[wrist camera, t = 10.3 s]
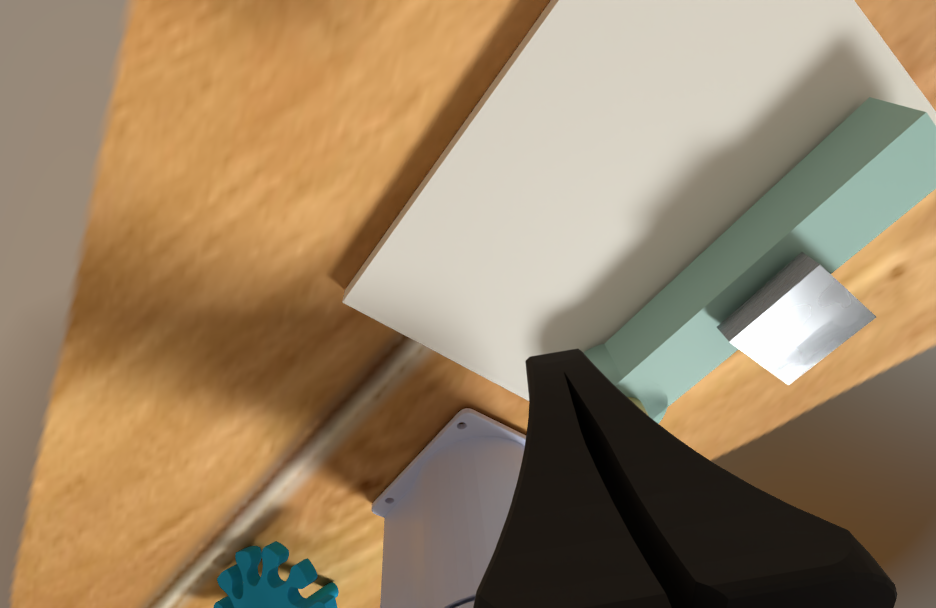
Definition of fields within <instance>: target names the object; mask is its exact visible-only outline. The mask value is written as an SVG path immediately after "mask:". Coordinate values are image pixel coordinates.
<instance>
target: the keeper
mask: <svg viewBox="0 0 936 608" xmlns="http://www.w3.org/2000/svg"><path fill="white" fill-rule="evenodd" d="M875 318H876V316H875V315H874V314H873V313H872V312H870V311H869V310H868V309H867V308H866V307H865V306H864V305H863V304H862V303H861V302H860V301H859V300H858V299H856V298H855V297H854V296H853V295H852V294H851V293H850V292H849V291H848V290H847V289H846V288H845V287H844V286H843V285H841V284H840V283H839V282H838V281H837V280H836V279H835V278H834V277H833V276H832V275H831V274H830V273H829V272H828V271H826V270H825V269H824V268H823V267H822V266H821V265H820V264H819V263H817V262H816V261H814V260H813V259H811V258H810V257H809V256H807V255H806V254H804V253H803V252H801V253H800V254H799V255H798V256H796V257H795V258H794V259H793V260H792V261H791V262H790V263H789V264H787V265H786V266H785V267H784V268H783V269H782V270H781V271H779V272H778V273H777V274H776V275H775V276H774V277H773V278H771V279H770V280H769V281H768V282H767V283H766V284H765V285H764V286H762V287H761V288H760V289H759V290H758V291H757V292H756V293H754V294H753V295H752V296H751V297H750V298H749V299H748V300H747V301H745V302H744V303H743V304H742V305H741V306H740V307H739V308H737V309H736V310H735V311H734V312H733V313H732V314H731V315H730V316H728V317H727V318H726V319H725V320H724V321H723V322H722V323H720V324H719V325H718V326H717V328H718V330H719V331H720V332H721V333H722V334H723V335H724V336H725V338H726V339H727V340H728V341H729V342H730V343H731V344H733V345H734V346H735V347H737V348H738V349H740V350H741V351H742V352H744V353H745V354H746V355H748V356H749V357H751V358H752V359H753V360H755V361H756V362H757V363H759V364H760V365H761V366H763V367H764V368H766V369H767V370H768V371H770V372H771V373H772V374H774V375H775V376H776V377H778V378H779V379H781V380H782V381H783V382H785V383H786V384H787V385H789V384H791V383H792V382H793V381H795V380H796V379H797V378H798V377H800V376H801V375H802V374H804V373H805V372H806V371H807V370H809V369H810V368H811V367H813V366H814V365H815V364H816V363H818V362H819V361H820V360H822V359H823V358H824V357H826V356H827V355H828V354H829V353H831V352H832V351H833V350H835V349H836V348H837V347H838V346H840V345H841V344H842V343H844V342H845V341H846V340H847V339H849V338H850V337H851V336H853V335H854V334H855V333H856V332H858V331H859V330H860V329H862V328H863V327H864V326H866V325H867V324H868V323H869V322H871V321H872V320H873V319H875Z"/></svg>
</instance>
